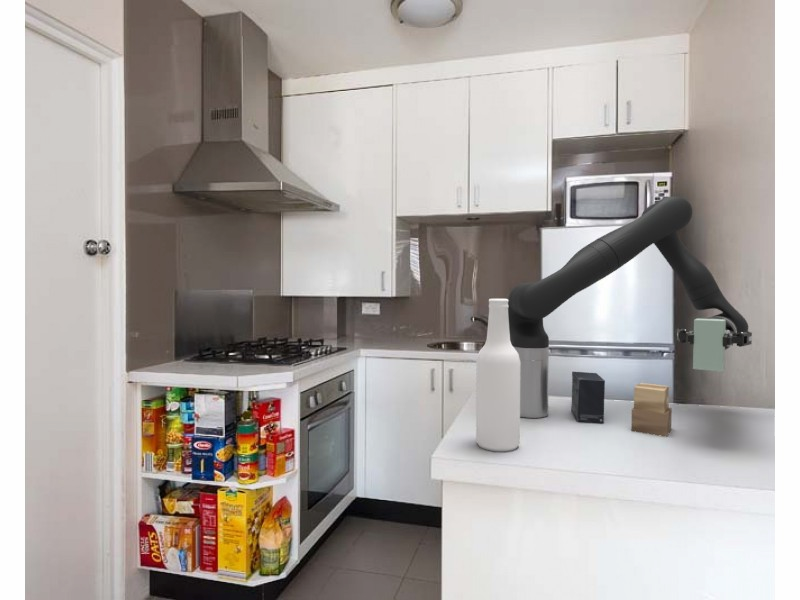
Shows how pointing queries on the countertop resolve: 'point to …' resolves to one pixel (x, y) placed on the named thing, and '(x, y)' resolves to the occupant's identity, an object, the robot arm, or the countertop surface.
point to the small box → (588, 397)
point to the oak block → (651, 398)
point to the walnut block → (652, 422)
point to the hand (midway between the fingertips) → (708, 340)
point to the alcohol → (498, 384)
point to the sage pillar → (709, 344)
